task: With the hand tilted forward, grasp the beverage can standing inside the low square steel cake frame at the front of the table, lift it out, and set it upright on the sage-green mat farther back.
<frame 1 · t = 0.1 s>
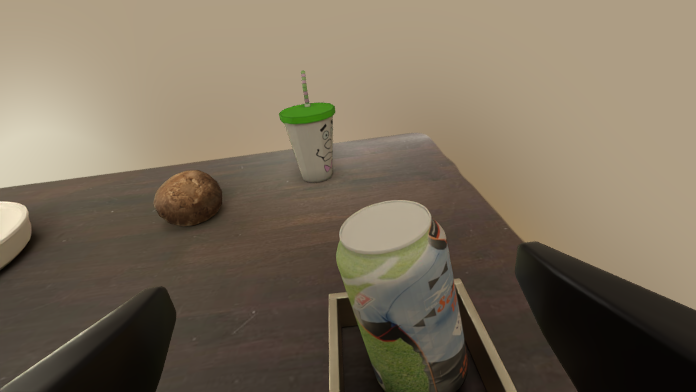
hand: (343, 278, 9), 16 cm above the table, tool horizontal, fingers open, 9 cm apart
cup: (317, 177, 55), on the table
mushroom: (196, 218, 47), on the table
cake frame: (409, 370, 24), on the table
beverage can: (409, 372, 24), resting in cake frame
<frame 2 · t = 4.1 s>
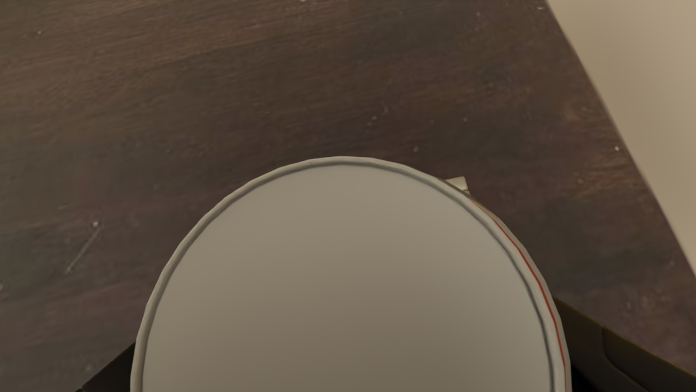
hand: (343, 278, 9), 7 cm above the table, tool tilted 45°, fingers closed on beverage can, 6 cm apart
beverage can: (367, 330, 15), resting in cake frame, touching gripper
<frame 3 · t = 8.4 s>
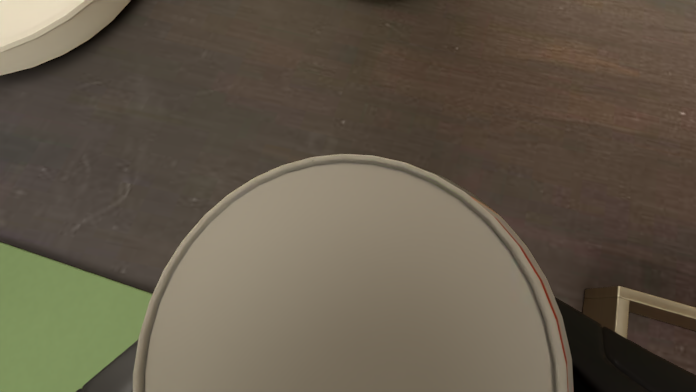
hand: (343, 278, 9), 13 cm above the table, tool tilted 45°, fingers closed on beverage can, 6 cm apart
beverage can: (368, 329, 15), point 6 cm above the table, touching gripper
when the fingers open (7 cm above the table, at t = 12.6 s): beverage can stays where it is, resting on green mat.
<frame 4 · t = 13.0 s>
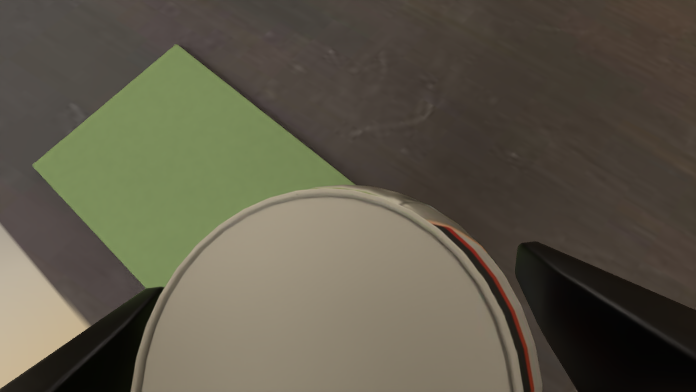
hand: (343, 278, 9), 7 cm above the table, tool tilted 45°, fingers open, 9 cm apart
beverage can: (369, 334, 15), resting on green mat
green mat: (233, 215, 18), on the table
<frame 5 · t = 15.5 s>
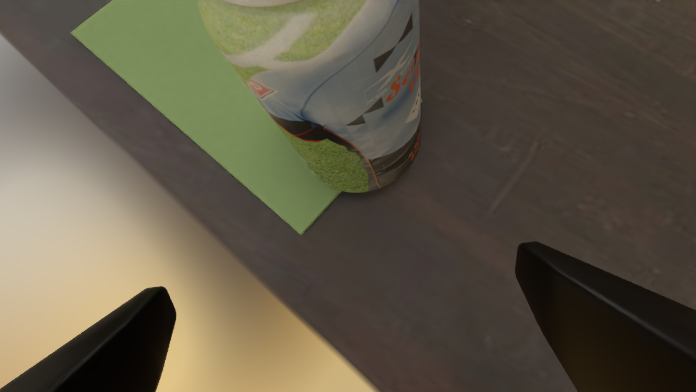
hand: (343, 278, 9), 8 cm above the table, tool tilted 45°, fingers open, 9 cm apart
beverage can: (347, 147, 19), resting on green mat
green mat: (237, 67, 21), on the table
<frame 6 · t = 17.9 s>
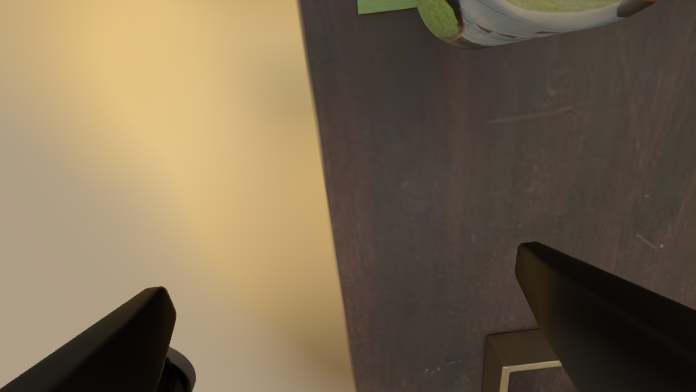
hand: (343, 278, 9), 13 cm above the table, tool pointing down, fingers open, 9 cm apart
cake frame: (540, 369, 31), on the table
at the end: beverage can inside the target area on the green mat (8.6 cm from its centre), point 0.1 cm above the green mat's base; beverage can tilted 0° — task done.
